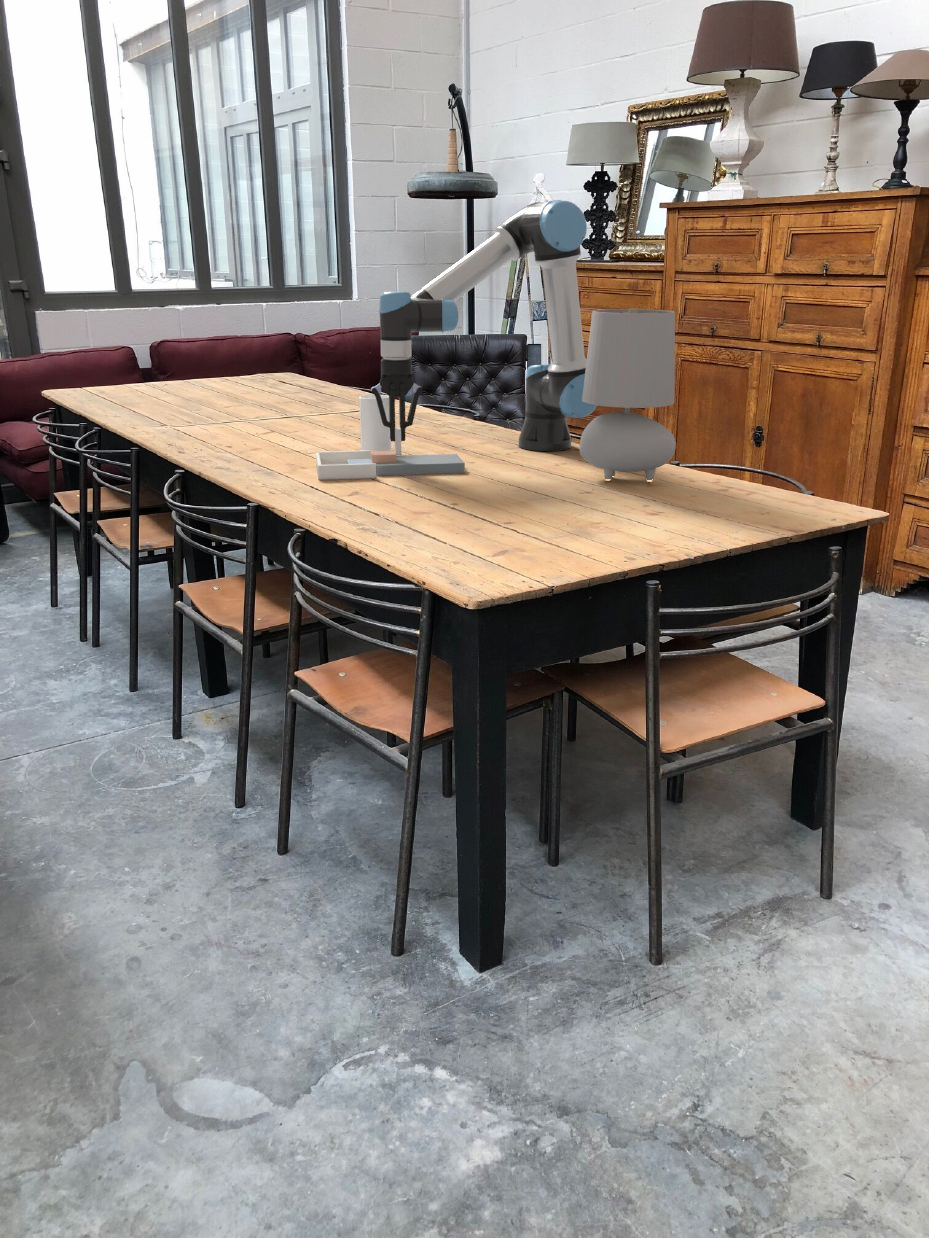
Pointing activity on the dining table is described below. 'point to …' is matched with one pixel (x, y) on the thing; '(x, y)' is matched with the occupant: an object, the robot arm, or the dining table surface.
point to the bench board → (422, 465)
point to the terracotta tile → (383, 456)
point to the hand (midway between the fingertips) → (397, 454)
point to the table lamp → (629, 389)
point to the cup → (373, 424)
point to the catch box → (343, 465)
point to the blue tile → (359, 461)
